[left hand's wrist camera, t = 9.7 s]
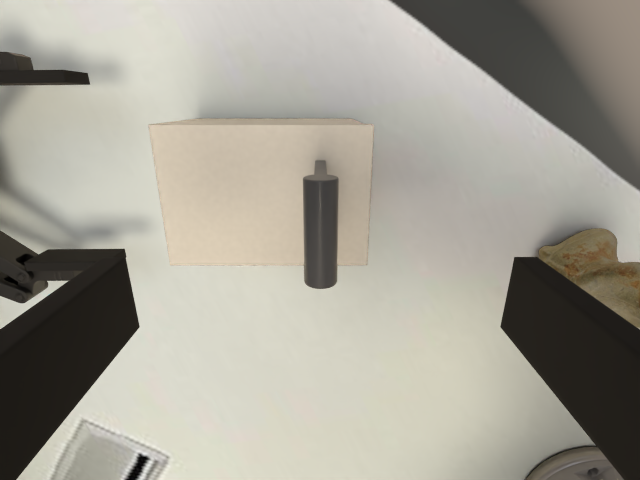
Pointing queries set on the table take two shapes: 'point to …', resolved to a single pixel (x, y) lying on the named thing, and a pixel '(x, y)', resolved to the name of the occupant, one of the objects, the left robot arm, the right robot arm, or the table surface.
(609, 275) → the sculpture
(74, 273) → the right robot arm
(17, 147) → the table surface
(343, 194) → the lid
